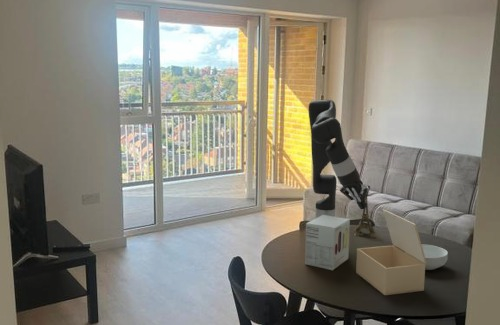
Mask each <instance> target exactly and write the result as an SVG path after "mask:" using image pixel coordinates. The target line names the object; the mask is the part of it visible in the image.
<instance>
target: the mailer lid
mask: <svg viewBox="0 0 500 325" xmlns="http://www.w3.org/2000/svg"><path fill="white" fill-rule="evenodd" d="M382 213H383V216H384V219H385V223H386V227H387V229H388V234H389V236H390V240H391V244H392V243H393V245H394V246H396V247H398V248H400V249H401V250H403V251H405V252H406V253H408V254H410V255H412V256H413V257H415V258H417V259H418V260H420V261H422V262H424V263H425V264H426V263H427V262H426V259H425V255H424V252H423V248H422V245H421V244H422V242H421V237H420V234H419V231H418V228H417V224H416V223H414V222H413V221H411V220H410V221H409V220H408V219H406V218H403V217H401V216H399V215H397V214H395V213H393V212H391V211H388V210H386V209H384V208H383V209H382Z"/></svg>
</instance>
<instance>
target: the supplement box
mask: <svg viewBox="0 0 500 325" xmlns="http://www.w3.org/2000/svg"><path fill="white" fill-rule="evenodd" d="M350 221H351V219H350V218H345V217H339V216H335V217H334V216H328V215H321V216H319V217H317V218H313V219H312V220H310V221H308V222H306V223H305V262H304V263H305V265H308V266H312V267H316V268H321V269H325V270H329V271H334V270H335V269H336V268H339V266H341V265H342V264H343V263H345V262H346V261H347V260H349V248H350V223H351V222H350Z"/></svg>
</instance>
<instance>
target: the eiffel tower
mask: <svg viewBox="0 0 500 325" xmlns="http://www.w3.org/2000/svg"><path fill="white" fill-rule="evenodd" d="M368 197H369V195H368V196H367V197H366V198H365V202H366V204H367V207H366V208H365V209H362V213H361V219H360V221H359V223H358V225H357V226H356V227H355V228H354V230H353V232H354V233H353V236H354V237H360V233H361V231H362V229H367V230H368V232H369V238H376V235H375V234H376V231H375V229H374V227H373V226H372V225H371V224H372V223H371V221H370V219H369V217H370V214H369V211H368V209H369V207H368V203H369V202H368ZM364 219H365V220H366V221H364Z"/></svg>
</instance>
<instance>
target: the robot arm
mask: <svg viewBox="0 0 500 325" xmlns="http://www.w3.org/2000/svg"><path fill="white" fill-rule="evenodd" d="M307 111H308V119H309V126H310V140H311V142H310V144H311V160H312V189H313V192H314V194H317V195H328V196H327V197H326V198H323V199H320V200H317V201H316V202H315V214H314V215H315V216H314V217H315V218H317V217H319V216H321V215H328V216H334V217H336V193H337V180H338V182H339V183H340V185H341V186H342V187H341V188H340V189H339V192H340V193H341V194H342V195H344V196H345V197H346V198H347V199H349V200H351V201H355V203H356V204H357V206H358V207H359V209H360V210H363V209H365V210H366V207H367V204H366V202H365V198H366V197H367V196H368V197H369V193H370V189H371V186H370V185H365V184H364V183H363V181H362V180H361V178H360V177H361V175H360V173H359V172H358V169H357V167H356V165H355V162H354V161H353V159H352V157H351V156H350V154H349V152H348V150H347V148H346V145H345V143H344V138H343V135H342V134H343V133H342V126H341V123H340V121H339V120H338V119H337V118H336V117H337V106H336V102H335V101H334V100H332V99H321V100H319V99H317V100H311V101H310V102H309V104H308V110H307ZM332 140H334V141H333V142H332ZM329 164H331V167H332V170H333V171H334V173H335V175H334V174H322V172H323V170H324V169H325V168H326V167H327V166H328V165H329ZM368 197H367V198H368ZM315 218H314V219H315Z"/></svg>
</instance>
